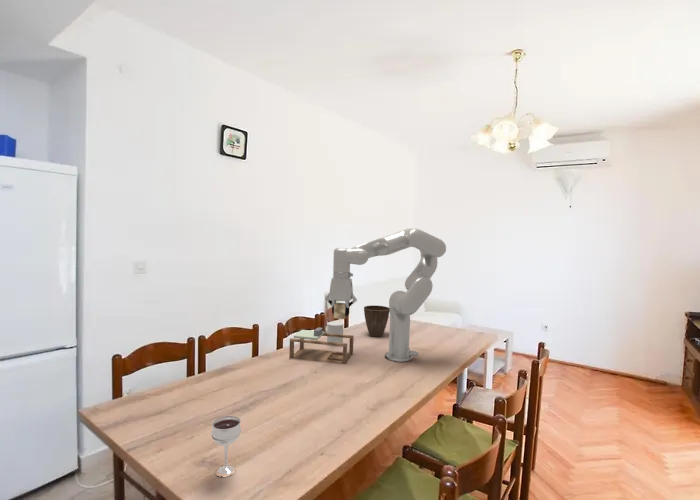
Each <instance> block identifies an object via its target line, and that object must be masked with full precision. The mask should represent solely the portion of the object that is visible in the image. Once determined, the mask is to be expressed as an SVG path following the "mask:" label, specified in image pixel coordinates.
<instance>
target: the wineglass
mask: <svg viewBox="0 0 700 500" xmlns="http://www.w3.org/2000/svg"><path fill="white" fill-rule="evenodd" d="M241 422H242V420H241V418H240V417H238V416H235V415H225V416H221V417H218V418H215V419H214V420H213V421H212V423H211V426H212V429H211V438H212V440H213V441H214V443H216V444H217V445H219V446H223V448H224V465H225V466H223V465H222V466H223V467H221V466H219V467H220V468H219V467H218V468H219V470H218V472H219V473H220V474H230V473H231V472H232V471H233V469H234V468H233V467H232V466H228V465H229V464H228V452H229V451H228V450H229V449H228V448H229V446H230V445H232V444H234V443H235V442H236V441H237V440H238V439H239V437H240V435H241V432H242V427H241V426H242V425H241Z"/></svg>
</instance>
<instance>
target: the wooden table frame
mask: <svg viewBox="0 0 700 500" xmlns="http://www.w3.org/2000/svg"><path fill="white" fill-rule="evenodd" d="M324 336H325V337H327V336H331V337H342V338H343V339H349V349H348V343H345V342H343V343H335V342H327V341H323V340H309V339H299V338H294V337H292V338H290V339H289V352H288V353H289V355H288V357H289V361H290V360H291V359H294V360H295V359H296V360H305V361H315V362H324V363H333V364H343V365H347V363H348V362H349V360H350V359H351V357H352V356H353V354H354V338H355V337H354V335H351V334H343V335H342V334H331V333H327V332H324V334H323V335H322V336H321V337H324ZM295 343H299V349H298V350H297V351H296V352H295ZM305 343H306V344H312V345H313V344H314V345H322V346H323V345H324V346H329V345H332V346H331V347H342V351H333V350H323V349H313V348H305V346H304V345H305ZM348 350H349V351H348Z"/></svg>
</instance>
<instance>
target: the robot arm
mask: <svg viewBox="0 0 700 500" xmlns="http://www.w3.org/2000/svg"><path fill="white" fill-rule="evenodd" d="M409 248H414V249H417V250H419V253H420V261H418V263H417V265H416V266H415V268H413V271H411V273H410V274H409V275H408V276H407V278H406V280H405V282H404V287H405V289H406V291H403V290H396V291H394V292H392V293H391V295H390V297H389V300H388V307H389V309H390V312H389V328H388V329H389V330H388V332H389V335H388V336H389V337H388V351H387V352H385V355H384V357H385V359H387V360H389V361H393V362H398V363H402V362H403V363H405V362H409V361H411V360H413V357H419V352H418V351H416V350H412V349H411V347H410V333H411V316H412V315H414V314H415V313H417V312H418V310H419V309H420V308H421V306H422V305H423V304H424V303H425V301H426V300H428V298H429V296H430V295H431V292H432V290H433V281H432V277H433V275H434V274H435V272H436V271H437V268H438V258H441V257H442V256H444V255H445V253H446V252H447V245H446V243H445V241H444V240H443V239H440V238H438V237H436V236H435V235H433V234H429V232H425V231H424V230H422V229H418V228H406V229H403V230H400V231H397V232H395V233H392V234H389V235H386V236H383V237H380V238H377V239H375V240H371V241H367V242H365V243H362V244H358V245H356V246H353V247H352V248H347V247H345V248H344V247H336V248H334V250H333V266H332V270H333V271H332V272H333V273H332V277H331V280H330V286H329V293H328V294H327V295H326V296H325V298H324V299H325V300H326V301H327V302H328V304H329V305H330V306H331V313H332V316H333V317H334V304H336V303H337V301H339V302H344V303H346V308H345V316H346V318H347V317H348V316H349V315H350V307H351V306H352V305H353V304H355V303H356V302H357V301H358V299H357V298H356V296H355V295H354V289H353V280H352V278H351V277H354V274H353V273H352V272H351V265H357V266H362V265H365V264H366V263H367V262H368V261H369V259H371V258H374V257H379V256H389V255H391V254H392V255H393V254H395V253H397V252H400V251H402V250H406V249H409Z"/></svg>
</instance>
